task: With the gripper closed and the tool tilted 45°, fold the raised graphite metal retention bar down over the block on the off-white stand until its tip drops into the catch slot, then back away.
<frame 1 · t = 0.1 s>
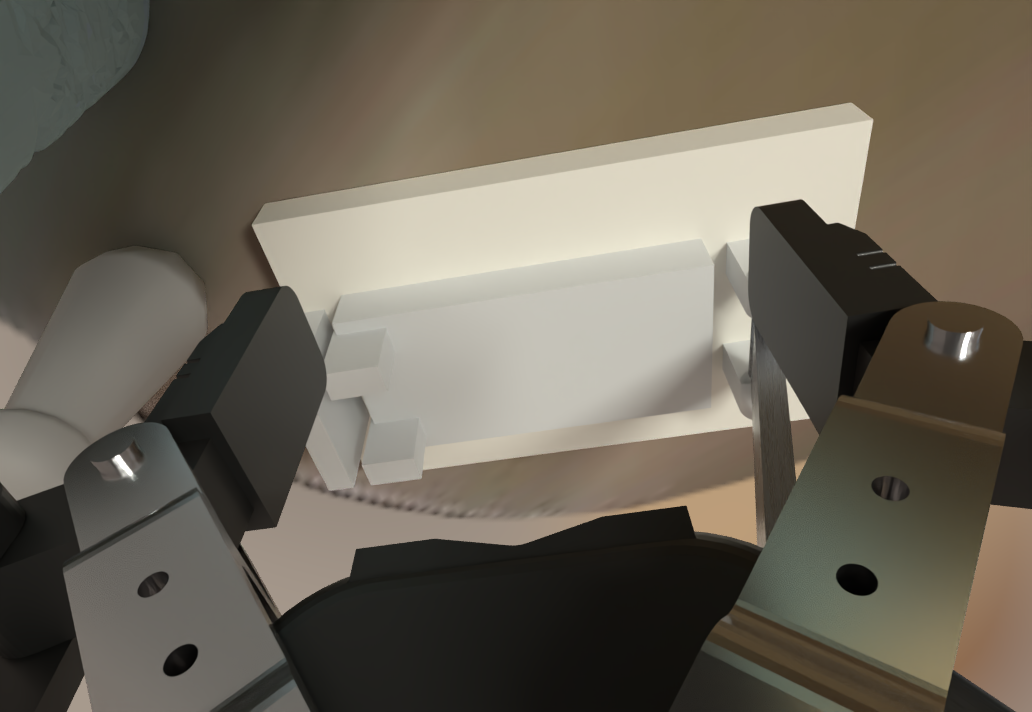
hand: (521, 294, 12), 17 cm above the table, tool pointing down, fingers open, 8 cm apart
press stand: (568, 308, 33), on the table
retention bar: (775, 512, 22), point 13 cm above the table, hinge at 75.0°
salt shaker: (161, 281, 32), on the table
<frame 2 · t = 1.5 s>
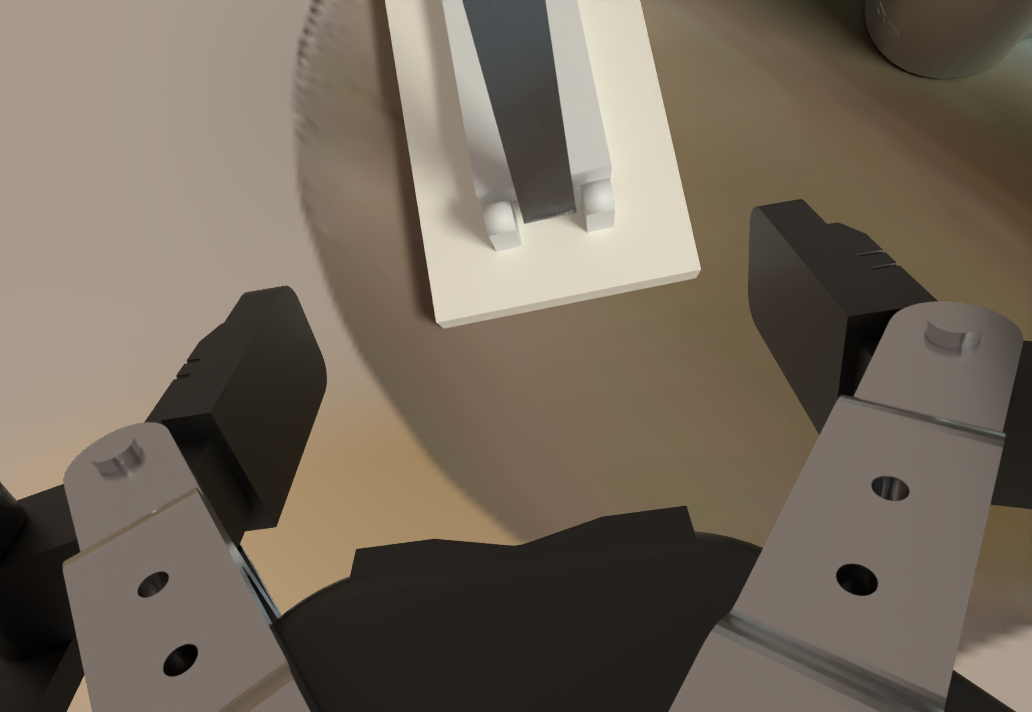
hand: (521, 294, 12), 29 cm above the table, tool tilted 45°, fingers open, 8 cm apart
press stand: (532, 120, 43), on the table
retention bar: (523, 92, 29), point 13 cm above the table, hinge at 75.0°
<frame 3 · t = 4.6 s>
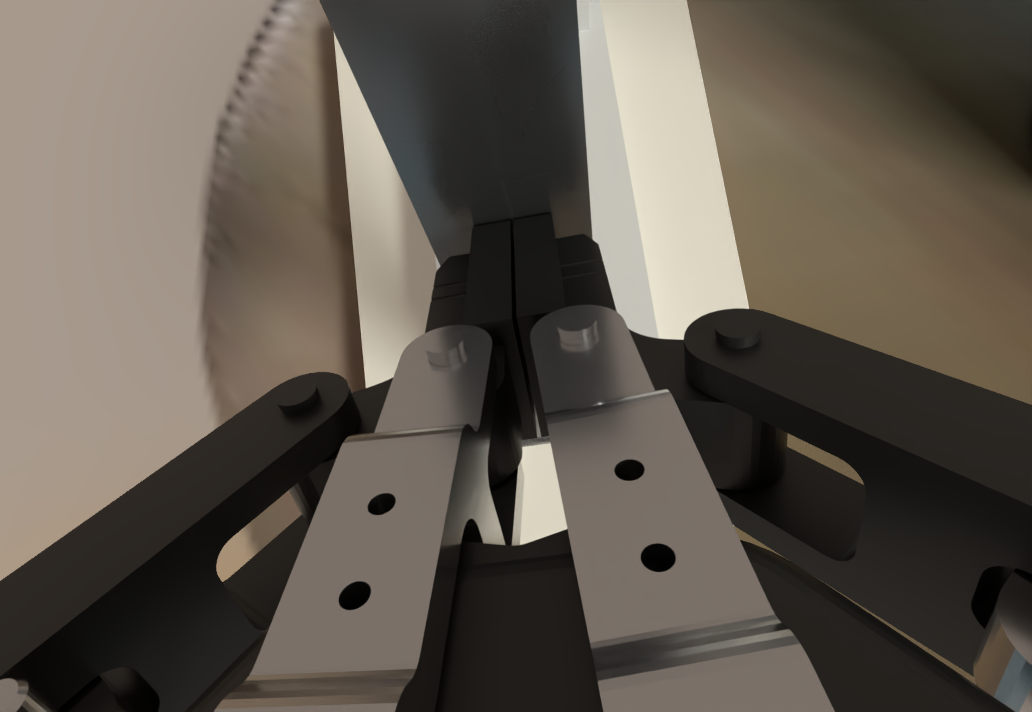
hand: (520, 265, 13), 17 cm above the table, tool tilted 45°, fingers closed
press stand: (541, 256, 30), on the table
retention bar: (532, 307, 16), point 13 cm above the table, hinge at 75.0°, touching gripper
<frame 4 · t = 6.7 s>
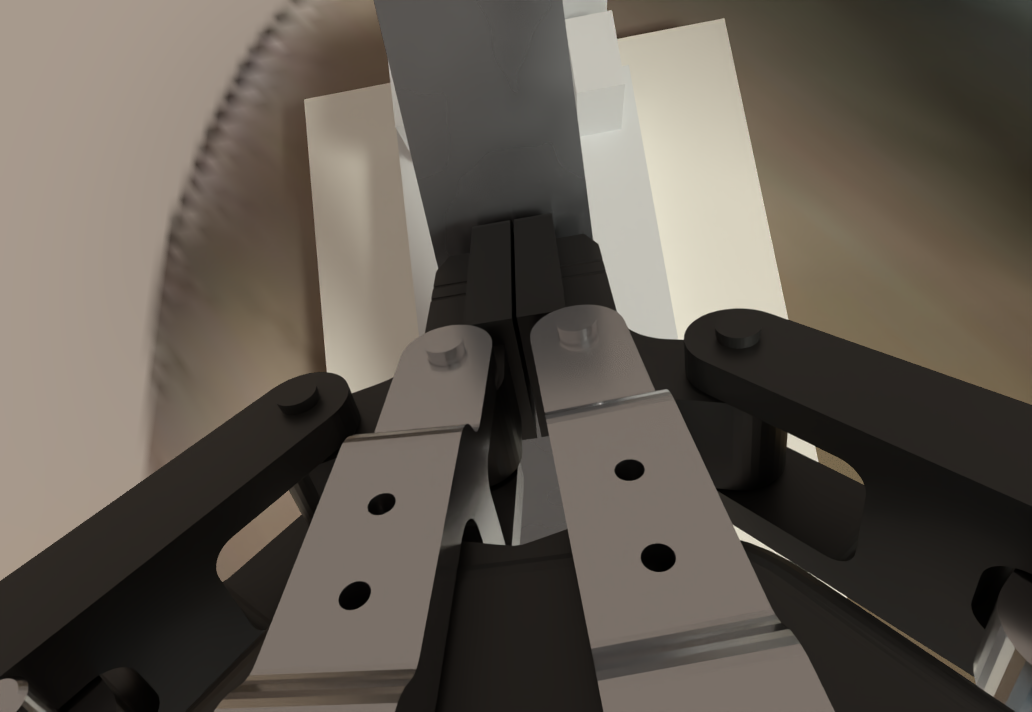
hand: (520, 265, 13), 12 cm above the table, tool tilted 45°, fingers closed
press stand: (558, 394, 25), on the table
retention bar: (541, 390, 14), point 10 cm above the table, hinge at 36.2°, touching gripper
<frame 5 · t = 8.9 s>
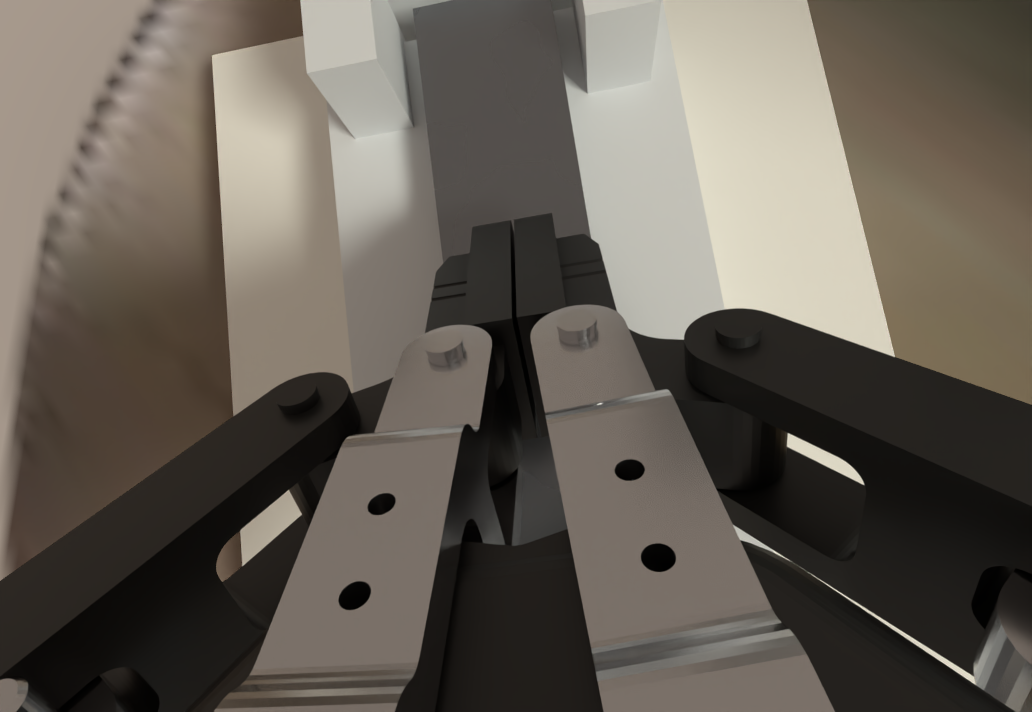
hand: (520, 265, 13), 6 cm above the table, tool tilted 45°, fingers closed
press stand: (561, 458, 18), on the table
retention bar: (542, 420, 13), point 5 cm above the table, hinge at -1.0°, touching gripper
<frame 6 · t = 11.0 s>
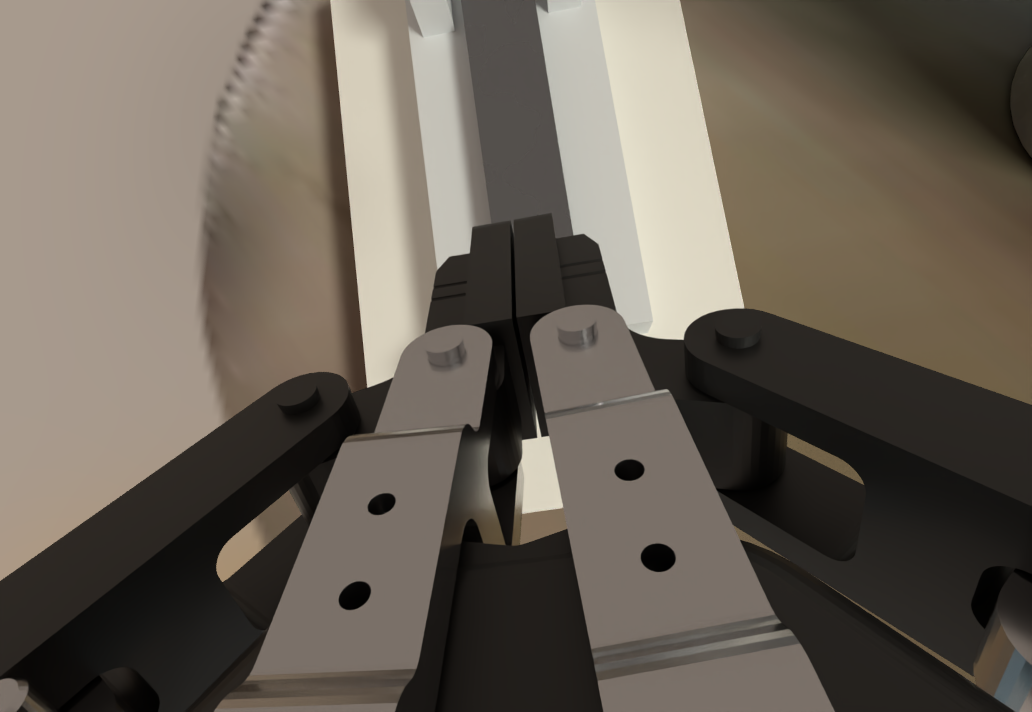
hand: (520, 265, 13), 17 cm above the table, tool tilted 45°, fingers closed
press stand: (535, 230, 31), on the table
retention bar: (523, 169, 26), point 5 cm above the table, hinge at -1.0°, touching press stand
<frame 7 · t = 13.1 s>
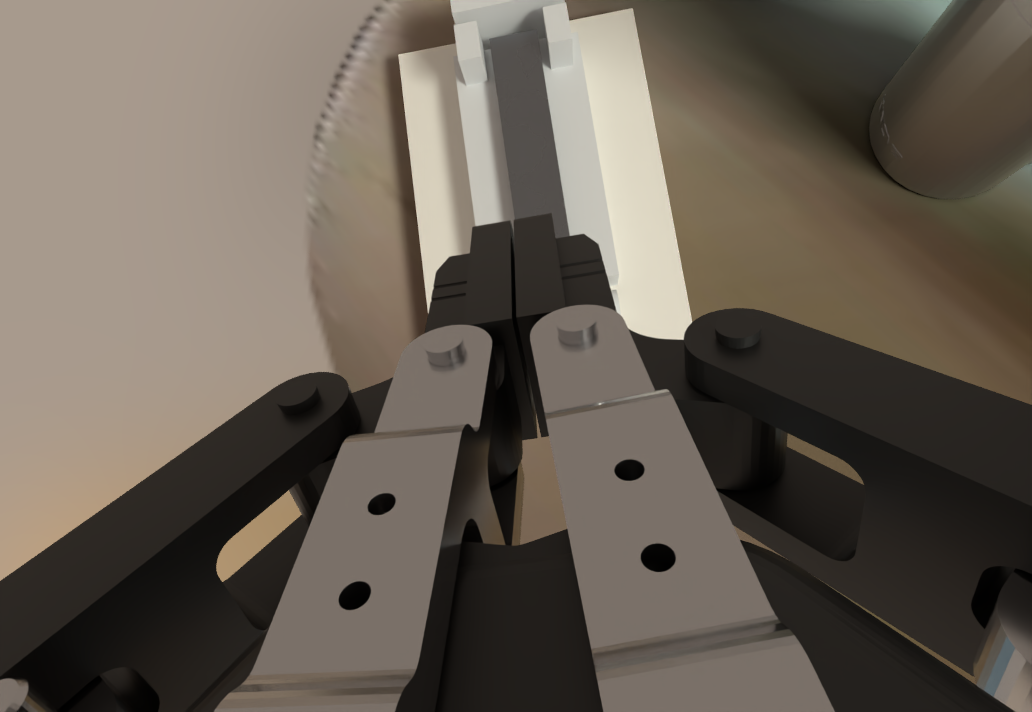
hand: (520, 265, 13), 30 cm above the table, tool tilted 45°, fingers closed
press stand: (542, 216, 44), on the table
retention bar: (534, 175, 40), point 5 cm above the table, hinge at -1.0°, touching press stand
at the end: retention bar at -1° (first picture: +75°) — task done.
